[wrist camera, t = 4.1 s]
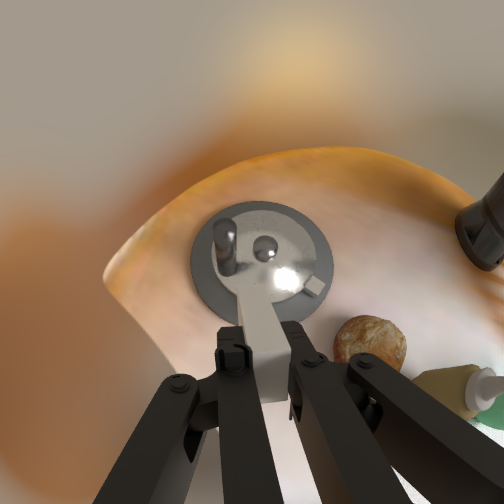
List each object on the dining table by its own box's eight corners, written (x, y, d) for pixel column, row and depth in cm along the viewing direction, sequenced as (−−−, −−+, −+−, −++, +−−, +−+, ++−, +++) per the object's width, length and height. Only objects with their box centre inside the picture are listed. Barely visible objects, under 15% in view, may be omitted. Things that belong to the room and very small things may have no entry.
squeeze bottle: (420, 434, 26) (516, 431, 10) (381, 415, 28) (481, 412, 12) (440, 385, 29) (533, 358, 14) (405, 364, 31) (500, 328, 16)
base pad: (248, 186, 45) (249, 169, 42) (352, 250, 40) (362, 236, 37) (162, 271, 37) (155, 257, 33) (281, 361, 31) (287, 356, 28)
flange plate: (252, 200, 42) (257, 149, 33) (342, 256, 38) (369, 213, 29) (191, 263, 36) (177, 217, 27) (290, 335, 32) (311, 310, 23)
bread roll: (384, 342, 37) (408, 305, 32) (394, 399, 28) (428, 367, 24) (325, 335, 37) (344, 295, 32) (327, 397, 29) (353, 364, 24)
